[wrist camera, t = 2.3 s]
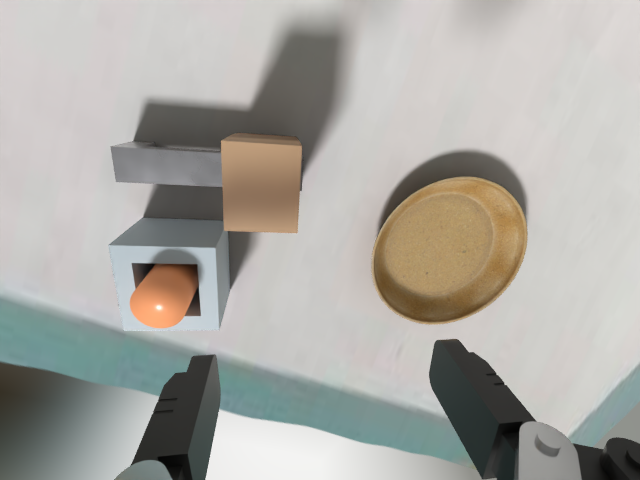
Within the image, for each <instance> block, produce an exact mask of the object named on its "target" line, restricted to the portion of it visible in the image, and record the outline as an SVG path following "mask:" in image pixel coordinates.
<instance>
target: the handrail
mask: <svg viewBox="0 0 640 480" xmlns="http://www.w3.org/2000/svg"><path fill="white" fill-rule="evenodd" d="M111 152H112V159H113V165H114V172H115V178H116V182H128V183H149V184H170V185H190V186H211V187H222V160H221V151H213V150H197V149H181V148H165V147H155V143H152V142H136V141H132V142H128V143H123V144H119V145H115V146H111ZM302 175H303V156H302V157H301V175H300V191H302Z"/></svg>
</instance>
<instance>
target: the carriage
mask: <svg viewBox="0 0 640 480" xmlns="http://www.w3.org/2000/svg"><path fill="white" fill-rule="evenodd" d="M301 157H302V145H301V143H300V141H299V140H298V138H297V137H293V136H278V135H264V134H250V133H236V134H232V135H230V136H228V137H226V138H225V139H223V140H221V160H222V189H223V218H224V231H244V232H276V233H297V231H298V213H299V194H300V175H301Z"/></svg>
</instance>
